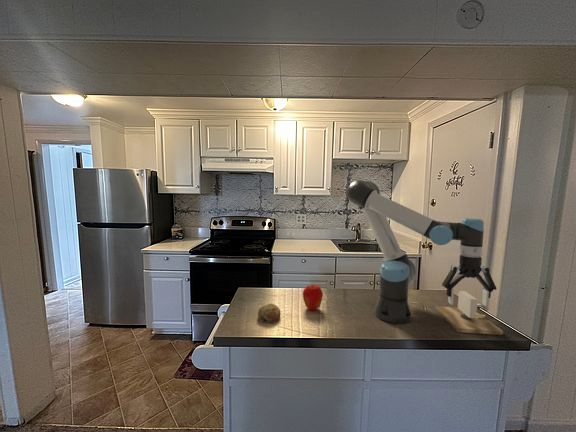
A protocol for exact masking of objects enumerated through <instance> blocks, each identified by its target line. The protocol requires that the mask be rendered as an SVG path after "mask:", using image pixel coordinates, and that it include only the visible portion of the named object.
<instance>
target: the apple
mask: <svg viewBox="0 0 576 432" xmlns="http://www.w3.org/2000/svg"><path fill="white" fill-rule="evenodd" d="M323 295H324V293H323V290H322V288H321V287H320V286H319V285H314V284H309V285H307V286H305V288H304V289H303V291H302V298H303V303H304V305H305V307H306V308H307V309H308V310H309V311H312V312H313V311H314V312H315V311H317V310H318V309H319V308H320V307H321V304H322V302H323Z"/></svg>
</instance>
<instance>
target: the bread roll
mask: <svg viewBox="0 0 576 432" xmlns="http://www.w3.org/2000/svg"><path fill="white" fill-rule="evenodd" d="M257 316H258V320H259V321H260V323H263V324H264V323H265V324H275V323H277V322H279V321H280V319H281V309H280V307H279V306H278V305H276V304H274V303H268V304H265V305H262V306H260V308H259V309H258V311H257Z"/></svg>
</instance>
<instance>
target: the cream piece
mask: <svg viewBox="0 0 576 432" xmlns="http://www.w3.org/2000/svg"><path fill="white" fill-rule="evenodd" d="M457 300H458V302H457V307H458V309H459V310H461V318H463V319H467V320H471V319H472V318H476V316H480V317H485V318H486V316H487V315H486V314H481V315H477V314H476V311H478V309H477V307H478V299H477V297H474V296H473V295H471V294H470V293H469V292H467V291H465V290H459V291H458V299H457Z"/></svg>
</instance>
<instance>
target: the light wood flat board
mask: <svg viewBox="0 0 576 432" xmlns="http://www.w3.org/2000/svg"><path fill="white" fill-rule="evenodd" d="M435 310H436V312H437V313H439V315H441V316H442V318H443V319H445V320H446V321H447V322H448V323H449V324H450V325H451V326H452V327H453V328H454V329H455V331H457V332H458V333H467V334H479V335H480V334H484V335H496V336H497V335H499V336H503V335H504V331H503V330H502V329H501V328H499V327H498V326H496V325H495V324H494V323H493V322H491V321H490V320H489V319H487V318H486V317H480V316H476V318H472V319H471V320H467V319H463V318H461V310H459V309H458V306H456V307H455V306H443V305H442V306H441V305H439V306H438V305H437V306H436V305H435ZM476 314H477V315H482V314H481V313H479V312H478V310H476Z"/></svg>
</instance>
